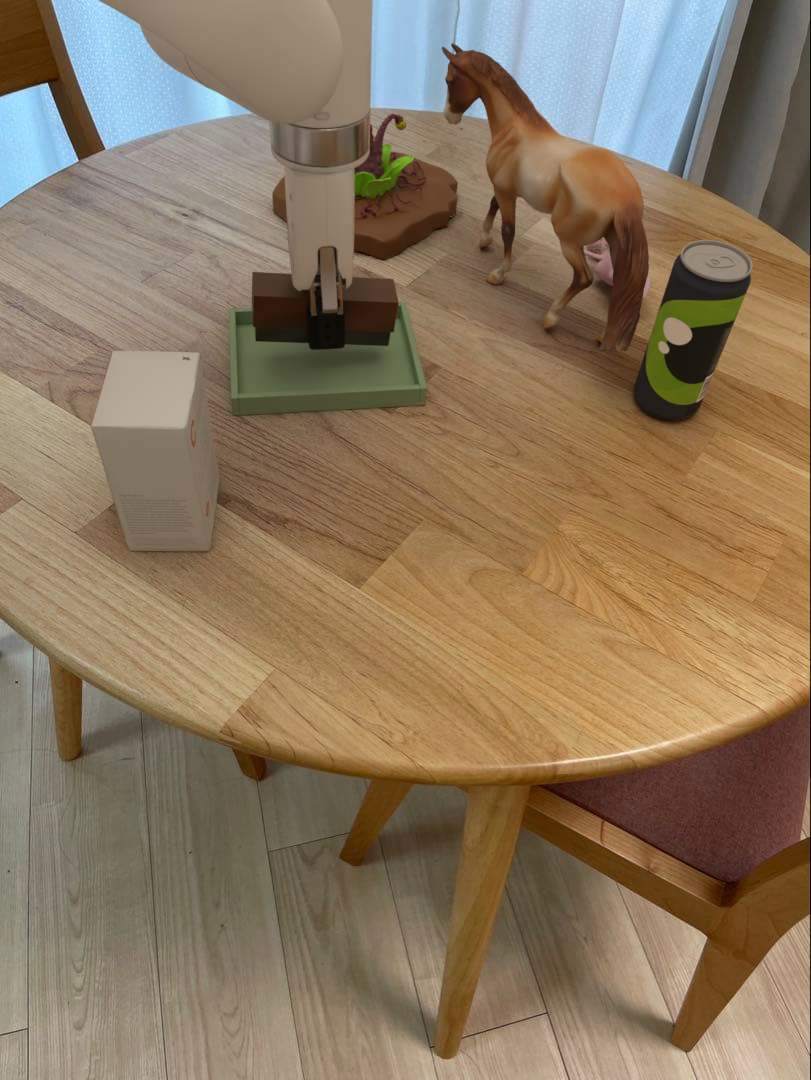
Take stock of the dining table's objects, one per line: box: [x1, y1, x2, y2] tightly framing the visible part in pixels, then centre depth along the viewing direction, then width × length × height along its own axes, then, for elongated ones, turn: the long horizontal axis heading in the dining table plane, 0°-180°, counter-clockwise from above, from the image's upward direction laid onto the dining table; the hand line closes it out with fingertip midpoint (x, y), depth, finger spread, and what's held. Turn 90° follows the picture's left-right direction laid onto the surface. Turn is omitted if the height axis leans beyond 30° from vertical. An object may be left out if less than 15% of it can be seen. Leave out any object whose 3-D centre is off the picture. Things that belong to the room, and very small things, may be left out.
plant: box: [271, 113, 459, 261], centre depth 97 cm, size 20×20×11 cm
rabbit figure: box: [583, 237, 652, 300], centre depth 92 cm, size 6×6×15 cm
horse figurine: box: [441, 42, 650, 353], centre depth 83 cm, size 31×8×21 cm, turn 32°
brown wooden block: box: [251, 271, 400, 346], centre depth 78 cm, size 12×4×5 cm, turn 98°
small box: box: [90, 350, 220, 552], centre depth 65 cm, size 8×6×13 cm
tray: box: [228, 301, 428, 416], centre depth 82 cm, size 17×13×2 cm
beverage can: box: [633, 239, 754, 421], centre depth 76 cm, size 6×6×15 cm
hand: (324, 330), depth 80 cm, fingers closed on brown wooden block, 3 cm apart
